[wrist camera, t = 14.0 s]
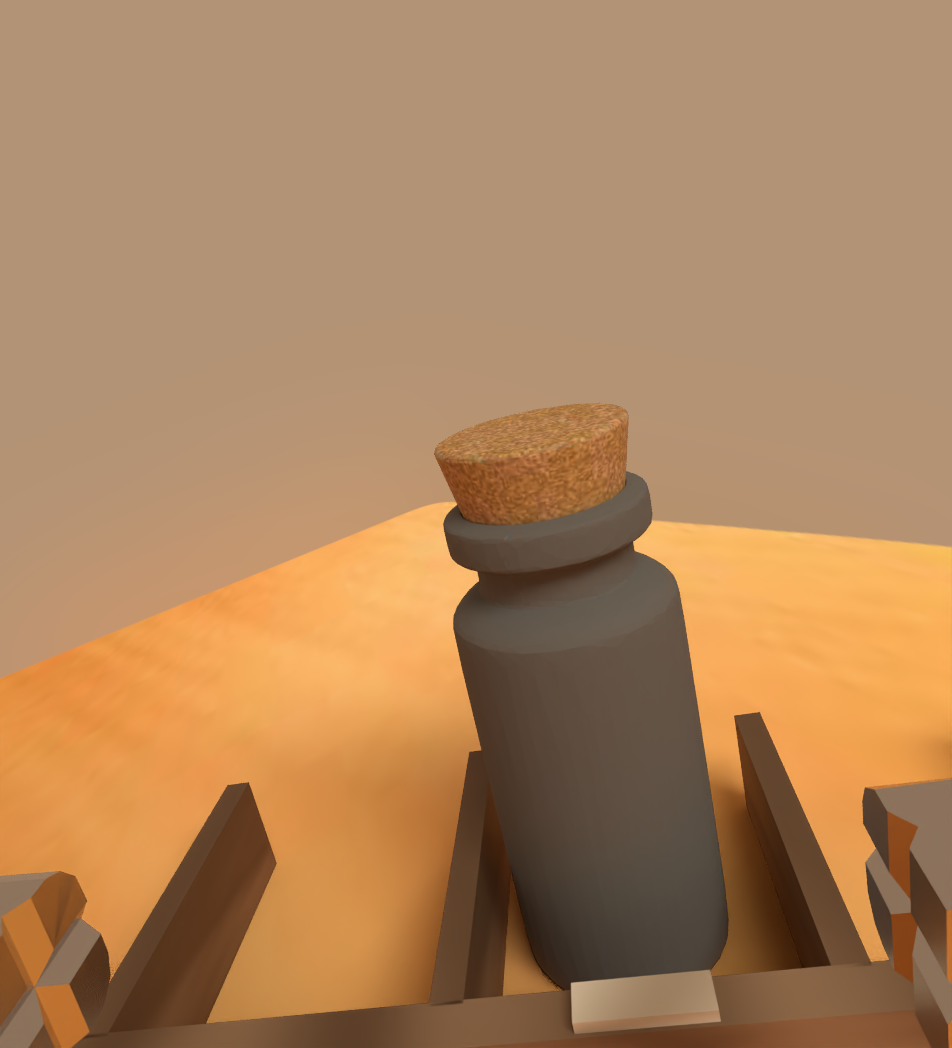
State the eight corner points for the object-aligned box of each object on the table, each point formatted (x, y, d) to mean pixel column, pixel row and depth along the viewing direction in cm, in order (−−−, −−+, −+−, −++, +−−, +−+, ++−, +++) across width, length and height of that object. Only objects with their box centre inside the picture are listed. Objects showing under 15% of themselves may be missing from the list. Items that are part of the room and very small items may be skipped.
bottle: (532, 863, 28) (429, 424, 23) (712, 844, 27) (641, 383, 22) (523, 1018, 22) (387, 482, 18) (750, 1002, 21) (666, 430, 17)
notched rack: (102, 1189, 20) (45, 1073, 19) (255, 865, 31) (225, 778, 29) (1380, 1109, 16) (1403, 955, 15) (1054, 768, 27) (1053, 663, 26)
